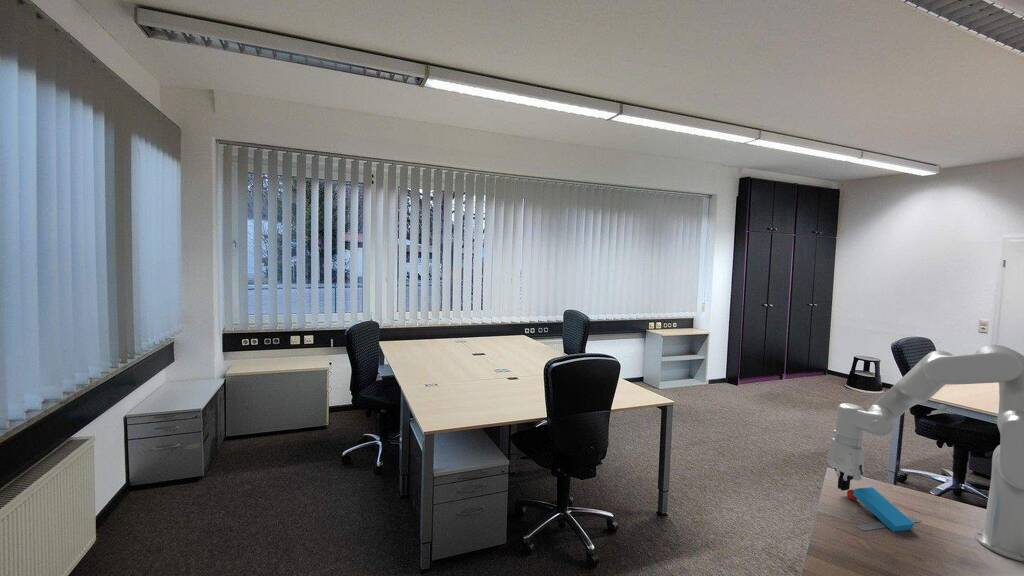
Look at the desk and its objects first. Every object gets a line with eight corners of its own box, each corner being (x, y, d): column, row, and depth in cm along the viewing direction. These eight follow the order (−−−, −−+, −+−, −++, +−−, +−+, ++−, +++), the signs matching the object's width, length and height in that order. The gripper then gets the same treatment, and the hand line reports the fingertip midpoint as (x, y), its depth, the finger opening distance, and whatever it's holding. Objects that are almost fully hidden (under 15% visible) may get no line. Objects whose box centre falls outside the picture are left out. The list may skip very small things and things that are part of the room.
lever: (905, 540, 136) (855, 493, 152) (914, 524, 133) (862, 478, 150) (887, 542, 135) (838, 495, 151) (895, 526, 132) (845, 480, 149)
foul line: (912, 516, 141) (912, 516, 141) (921, 521, 138) (921, 521, 138) (855, 525, 136) (855, 525, 136) (863, 531, 133) (863, 530, 133)
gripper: (820, 431, 157) (815, 478, 159) (860, 450, 142) (855, 502, 144) (836, 429, 159) (832, 476, 161) (878, 448, 144) (873, 500, 146)
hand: (843, 488), depth 153 cm, fingers closed
